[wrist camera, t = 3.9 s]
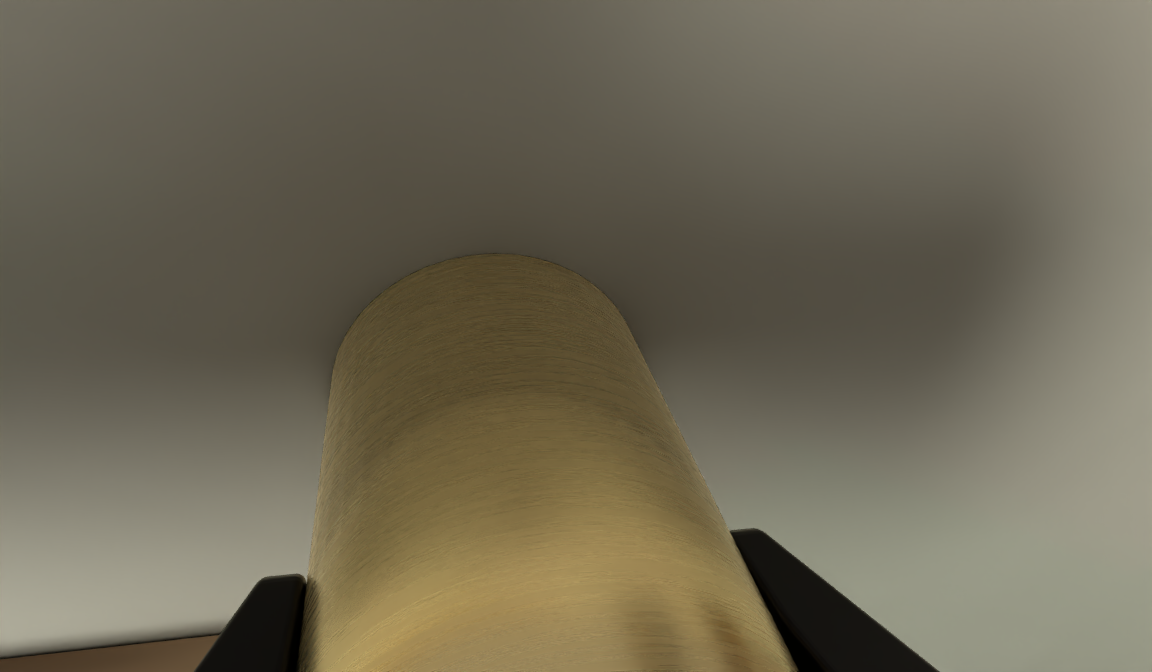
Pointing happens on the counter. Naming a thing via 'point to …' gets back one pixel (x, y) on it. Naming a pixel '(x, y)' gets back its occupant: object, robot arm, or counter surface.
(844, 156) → the counter surface
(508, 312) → the brass pin
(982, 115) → the counter surface
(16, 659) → the ring socket
